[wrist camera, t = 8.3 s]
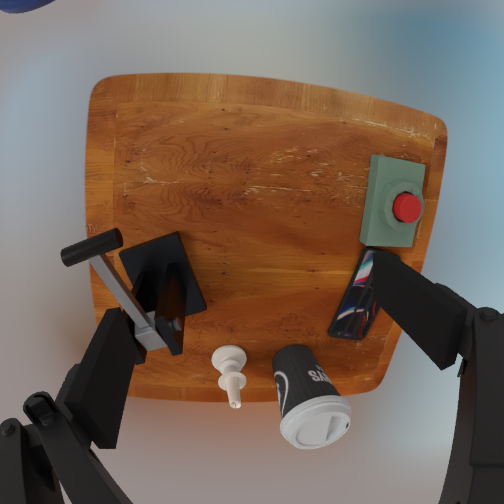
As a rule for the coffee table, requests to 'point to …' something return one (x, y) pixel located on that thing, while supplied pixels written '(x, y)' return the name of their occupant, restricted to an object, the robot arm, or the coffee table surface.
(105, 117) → the coffee table surface
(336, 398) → the coffee cup
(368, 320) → the smartphone
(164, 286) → the bracket
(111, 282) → the lever
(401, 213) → the button
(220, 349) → the candle
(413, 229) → the button box
